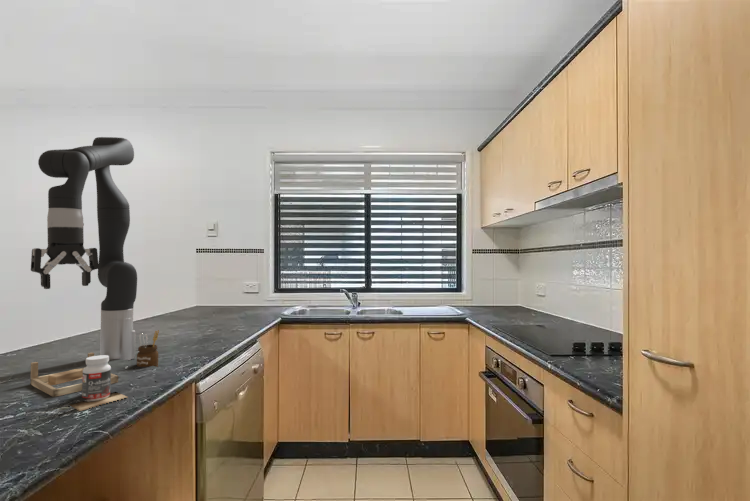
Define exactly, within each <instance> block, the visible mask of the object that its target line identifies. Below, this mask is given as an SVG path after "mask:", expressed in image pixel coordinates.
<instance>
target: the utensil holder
mask: <svg viewBox="0 0 750 501" xmlns="http://www.w3.org/2000/svg"><path fill="white" fill-rule="evenodd" d="M159 332H160V330H155V331H154V333H153V337H152V341H153V343H152V344H148V343H146V344H145V342H143V344H142V342H139V343H140V344H139V345H140V346H138V348H137V349H138V350H137V351H138V352H137V354H136V366H137V367H140V368H143V367H144V368H145V367H156V368H157V367H159V352H158V345H157V344H155V343H156V342H157V340H158V336H159ZM141 335H142V334H139V341H141V340H145V339H144V335H142V337H143V338H142V337H141ZM145 337H146V340H148V335H145ZM141 338H142V339H141Z"/></svg>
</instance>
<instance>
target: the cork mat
mask: <svg viewBox="0 0 750 501" xmlns="http://www.w3.org/2000/svg"><path fill="white" fill-rule="evenodd" d="M128 397H129V396H127V395H125V394H122V393H120V392H117V391H113V392H110V396H109V397H107V398H105V399H103V400H99V401H92V402H87V401H84V400H80V401H77V402H74V403H70V404H68V406H69V407H71V408H73V409H75V410H77V411H79V412H81V411H86V410H90V409H92V407H93V408H97V407H100V406H99V405H101V406H103V405H102V404H105V405H107V404H106V403H108V404H110V403H109V402H112V403H114V402H113V401H116V402H118V401H117V400H119V401H122V400H121V399H123V400H125V399H124V398H127V399H129V398H128ZM96 406H97V407H96ZM89 408H90V409H89Z"/></svg>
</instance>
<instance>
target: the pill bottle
mask: <svg viewBox="0 0 750 501" xmlns="http://www.w3.org/2000/svg"><path fill="white" fill-rule="evenodd" d="M109 361H110V360H109V356H108V355H100V354H98V355H94V356H92V357H88V356H87V357H86V358H85V365H86V366H85V367H83V368H84V369H83V377H82V379H81V380H82V382H81V383H82V391H81V398H83V399H84V400H83V401H87V402H92V401H99V400H103V399H105V398H107V397H109V396H110V393H111V389H112V388H111V386H112V384H111V373H112V367H111V365H110V364H109V363H108V362H109Z"/></svg>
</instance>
